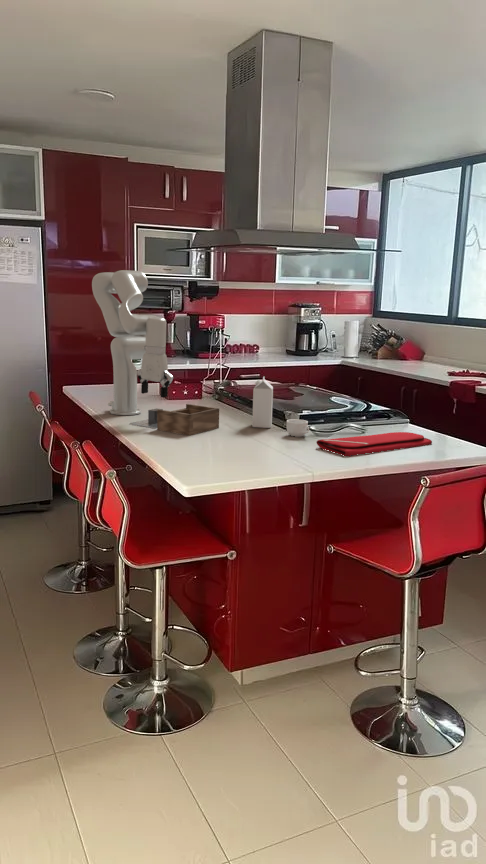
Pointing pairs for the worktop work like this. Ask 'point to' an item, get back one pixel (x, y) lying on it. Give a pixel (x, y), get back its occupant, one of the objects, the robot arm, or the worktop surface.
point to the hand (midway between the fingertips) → (154, 395)
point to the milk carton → (262, 404)
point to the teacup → (297, 427)
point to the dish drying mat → (373, 443)
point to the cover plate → (145, 424)
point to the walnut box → (188, 419)
